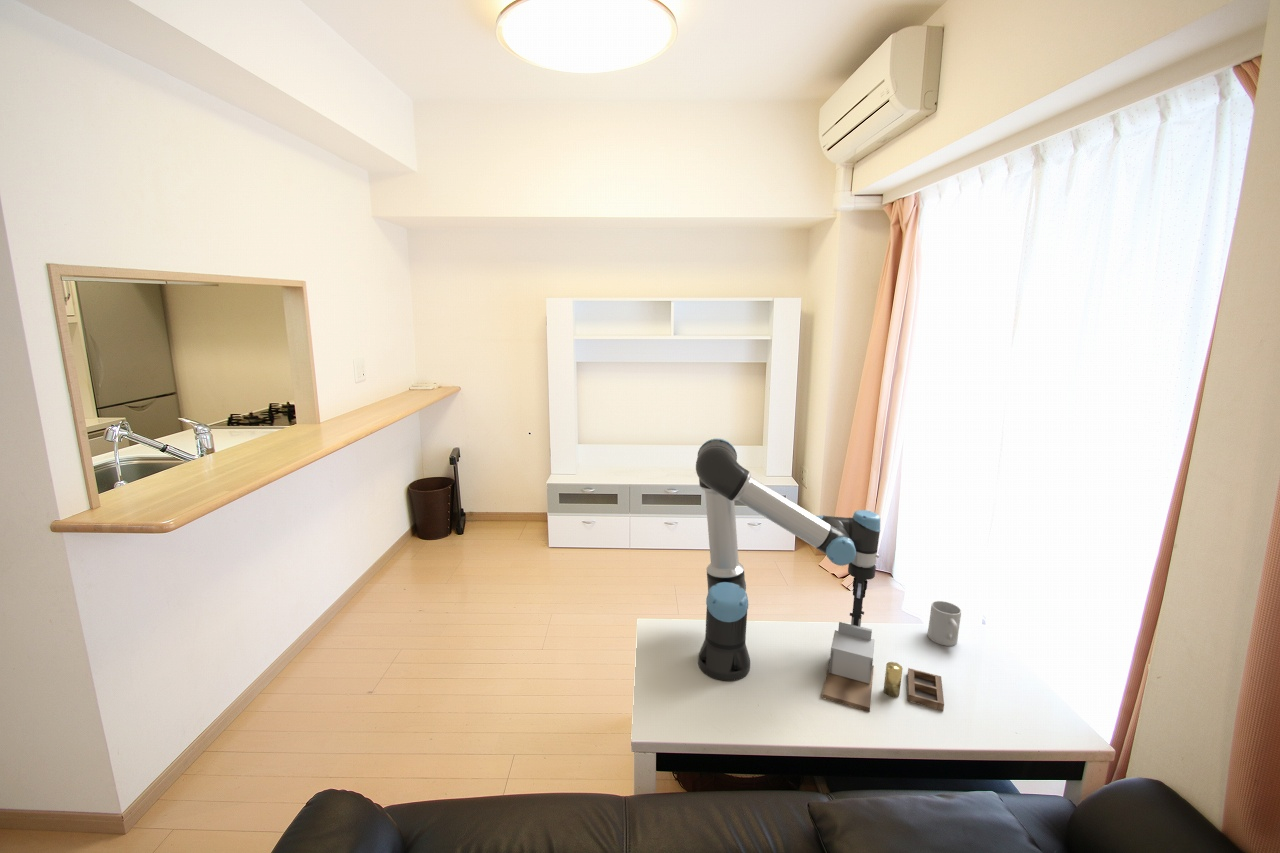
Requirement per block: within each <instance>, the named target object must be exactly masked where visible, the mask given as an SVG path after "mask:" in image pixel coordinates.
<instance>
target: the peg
mask: <svg viewBox="0 0 1280 853" xmlns="http://www.w3.org/2000/svg"><path fill="white" fill-rule="evenodd" d="M903 670H904V669H903V666H902V665H901V664H900V663H897V662H895V661H894V662H893V661H889V662H887V663H886V665H885V675H884V684H883V690H882V691H883V693H884V694H885V695H886V696H888V697H890V698H894V699H895V698H898V697H900V692H901V684H902V677H903V676H902V675H903Z"/></svg>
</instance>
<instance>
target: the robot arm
mask: <svg viewBox="0 0 1280 853" xmlns="http://www.w3.org/2000/svg"><path fill="white" fill-rule="evenodd" d="M698 449H699V450H698V451H697V457H696V461H695V472H696V475H697V477H698V484H699V487H700V489H702V490H703V491H704V495H705V508H706V517H707V518H706V520H707V532H708V545H709V555H710V556H709V558H710V564H708V565H707V566H706V578H707V579H706V581H707V595H706V600H705V603H706V614H705V615H706V617H705V635H704V640H703V643H702V644H701V647H700V649H699V652H698V656H697V657H698V661H697V664H698V667H699V669H700V671H701V672H703V673H704V674H705V675H706V676H708V677H710V678H712V679H715V680H719V681H725V682H733V681H738V680H741V679H743V678H745V677H747V675H748V674H749V672H750V669H751V658H750V655H749V651H748V647H747V644H746V640H747V639H746V638H747V637H746V636H747V625H748V624H747V622H748V621H747V620H748V609H749V599H748V593H747V591H746V590H747V584H746V583H747V582H746V579H745V578H746V577H745V567H744V564H742V563H740V562H739V560H740V559H739V549H738V534H737V532H738V531H737V521H736V507H735V501H738V502H740V503H741V504H743V505H744V506H746V507H748V508H749V509H751V510H752V511H754V512H756V513H758V514H759V515H761V516H762V517H763V518H766V519H767V520H769V521H771V522H772V523H774V524H775V525H777V526H779V527H780V528H782V529H784V530H786V531H787V532H789V533H790V534H792V535H794V536H795V537H797V538H799V539H801V540H802V541H804V542H805V543H807V544H809V545H810V546H812V547H814V548H815V549H816V550H818V551H819V552H821V553H823V554H824V555H826V557H827V558H828V560H829V561H830V563H833V564H834V565H837V566H848V567H847V572H848V573H847V574H848V575H849V576H851V577H853V580H852V588H853V589H852V596H853V601H852V602H853V604H852V612H849V616H850V617H851V620H850V624H851V625H855V626H859V627H862V615H865V611H863V601H864V598H865V597H866V591H867V589H868V582H869V580H872V579H874V578H875V576H876V570H877V569H876V568H877V567H876V564H877V559H878V558H880V554H878V550H879V548H878V547H879V540H880V534H881V516H880V515H879V514H878V513H876V512H873V511H871V510H865V509H861V510H856V511H854V512H853V515H852V517H842V516H832V515H831V516H830V515H815V514H814V513H812V512H810V511H809V510H807V509H805V508H803V507H801V505H798V504H797V503H795V502H794V501H792V500H790V499H788V498H786V497H785V496H784V495H782V494H780V493H778V492H777V491H775V490H774V489H772V488H770V487H769V486H768V485H766V484H764V483H762V482H760V481H759V480H758V479H756V478H753V477H752V474H751V472H750V471H749V470H748V469H746V468H745V467H743V466H742V465H740V464H739V462H738V461H737V460H738V455H737V454H738V453H737V451H736V449H735V447H734V446H733V445H732V444H731V443H730V442H729V441H728V440H726V439H723V438H713V439H709V440H707V441H705V442H704V443H703V444H702V445H701V446H700V447H699V448H698Z"/></svg>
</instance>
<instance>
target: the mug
mask: <svg viewBox="0 0 1280 853" xmlns="http://www.w3.org/2000/svg"><path fill="white" fill-rule="evenodd" d="M961 617H962V609H961V608H960V607H958V605H956V604H954V603H950V602H948V601H943V600H937V601H932V603H931V607H930V614H929V620H928V628H927V636H928V638H929V640H931V641H932V642H934V643H935V644H939V645H940V646H945V647H946V646H947V647H953V646H955V645H957V643H958V638H959V630H960V624H961Z"/></svg>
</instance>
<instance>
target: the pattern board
mask: <svg viewBox="0 0 1280 853" xmlns="http://www.w3.org/2000/svg"><path fill="white" fill-rule="evenodd" d="M829 664H830V660H829V662H828V667H827V670H826V676H825V679H824V684H823V688H822V693H821V699H825V700H828V701H831V702H835V703H837V704H842V705H843V706H844V705H845V706H848V707H851V708H854V709H855V708H856V709H858V710H863V711H865V712H869V713H870V712H871V705H872V704H871V701H872V691H873V690H872V689H873V679H874V678H873V677H874V667H875V666H874V665H873V664H872V672H871V681H870V684H869V683H865V682H861V681H858V680H854V679H850V678H847V677H843V676H839V675H836V674H832V673H829Z"/></svg>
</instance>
